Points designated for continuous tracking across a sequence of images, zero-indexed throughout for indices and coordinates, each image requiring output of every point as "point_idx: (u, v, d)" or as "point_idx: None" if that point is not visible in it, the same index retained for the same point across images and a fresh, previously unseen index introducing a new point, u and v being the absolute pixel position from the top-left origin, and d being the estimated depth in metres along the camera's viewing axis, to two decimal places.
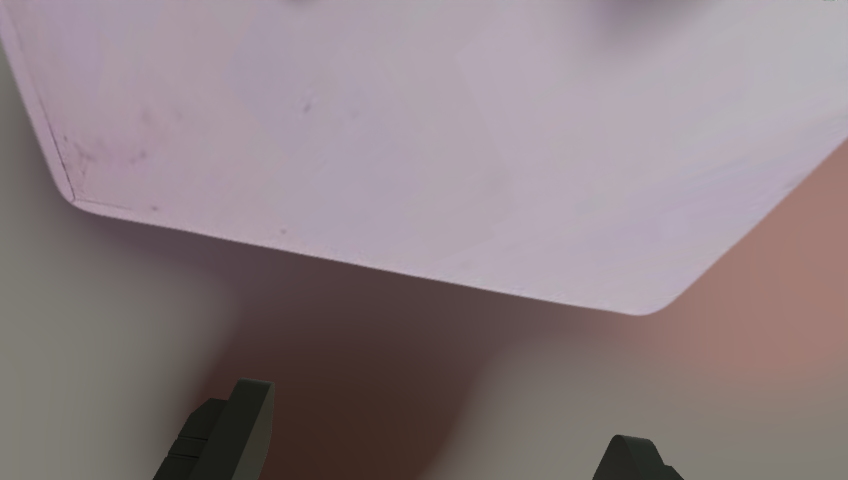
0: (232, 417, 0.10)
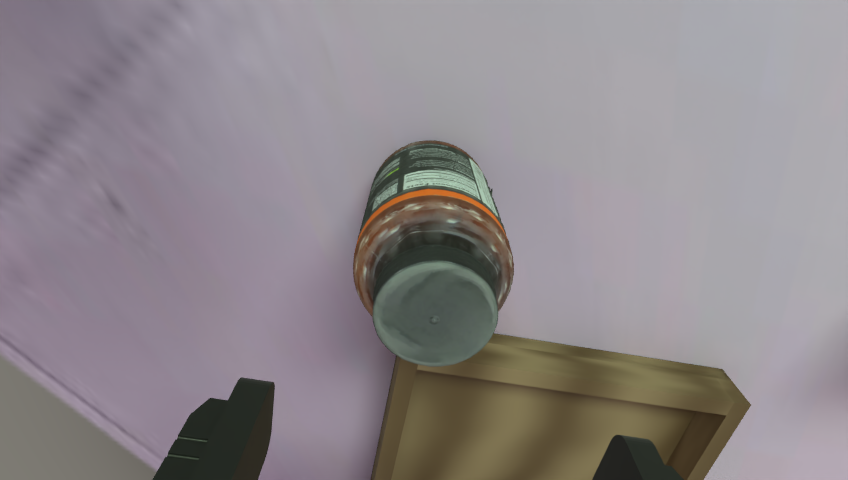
0: (232, 417, 0.10)
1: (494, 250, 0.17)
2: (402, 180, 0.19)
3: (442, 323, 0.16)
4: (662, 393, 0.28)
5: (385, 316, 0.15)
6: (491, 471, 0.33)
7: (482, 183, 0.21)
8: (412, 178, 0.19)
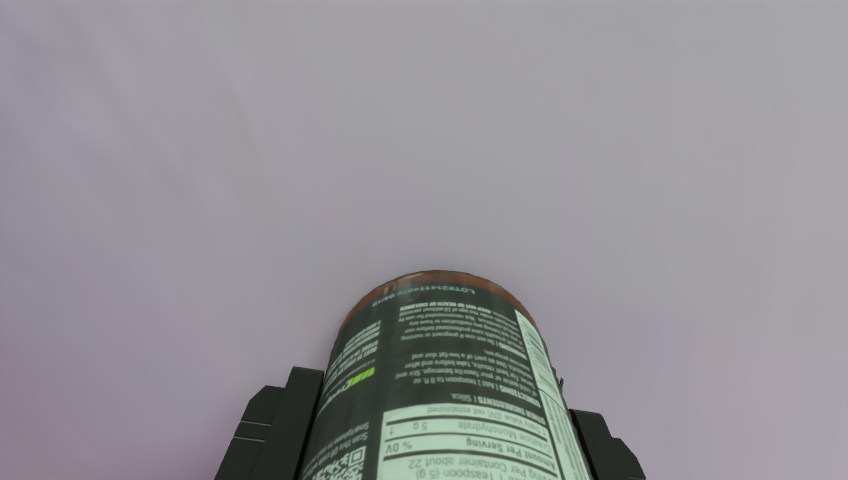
0: (291, 402, 0.10)
1: None
2: (378, 440, 0.08)
3: None
4: None
5: None
6: None
7: (554, 400, 0.10)
8: (402, 447, 0.08)
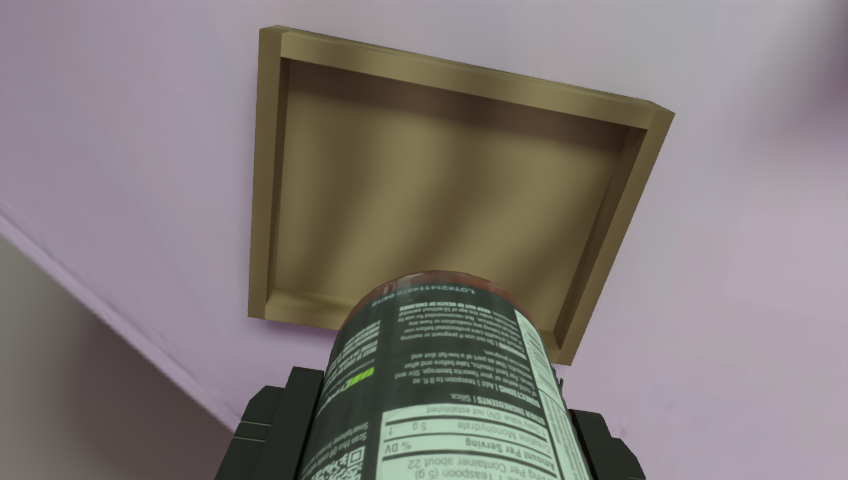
0: (291, 402, 0.10)
1: None
2: (377, 440, 0.08)
3: None
4: (571, 95, 0.24)
5: None
6: (394, 240, 0.29)
7: (553, 400, 0.10)
8: (400, 447, 0.08)
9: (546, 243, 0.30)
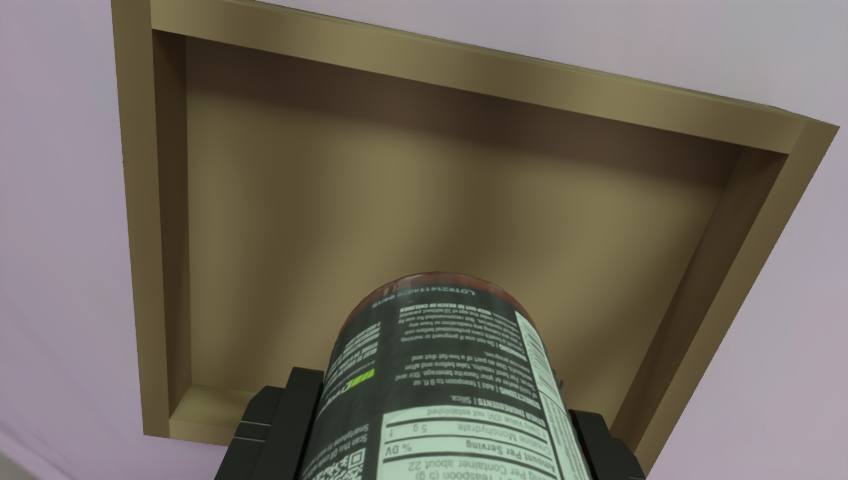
0: (291, 402, 0.10)
1: None
2: (378, 442, 0.08)
3: None
4: (662, 96, 0.14)
5: None
6: None
7: (554, 402, 0.10)
8: (401, 448, 0.08)
9: (599, 323, 0.19)
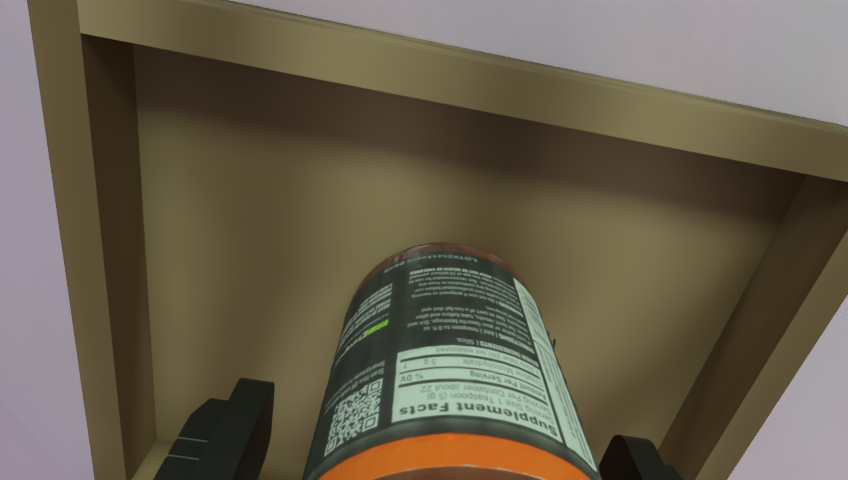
0: (232, 417, 0.10)
1: None
2: (393, 373, 0.09)
3: None
4: (719, 117, 0.11)
5: None
6: None
7: (546, 351, 0.11)
8: (414, 377, 0.09)
9: (627, 374, 0.17)
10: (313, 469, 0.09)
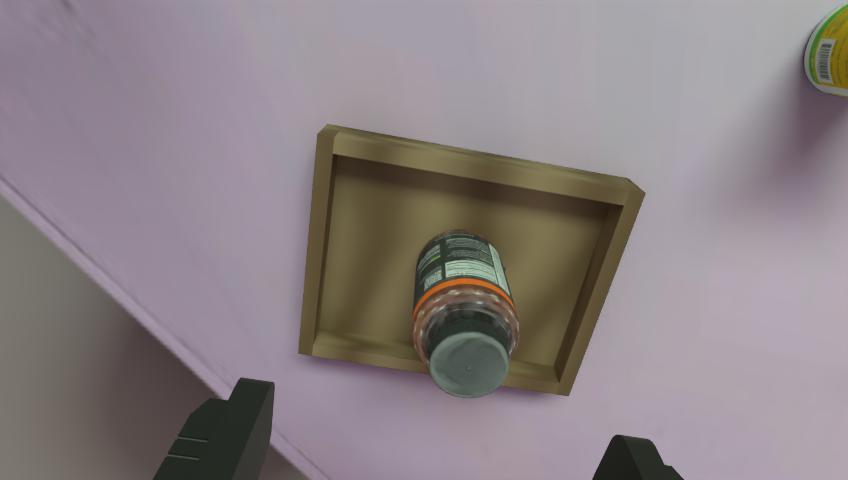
0: (232, 417, 0.10)
1: (507, 321, 0.26)
2: (444, 267, 0.28)
3: (473, 370, 0.24)
4: (561, 180, 0.30)
5: (437, 365, 0.24)
6: None
7: (498, 266, 0.30)
8: (452, 267, 0.28)
9: (545, 292, 0.35)
10: (421, 294, 0.27)
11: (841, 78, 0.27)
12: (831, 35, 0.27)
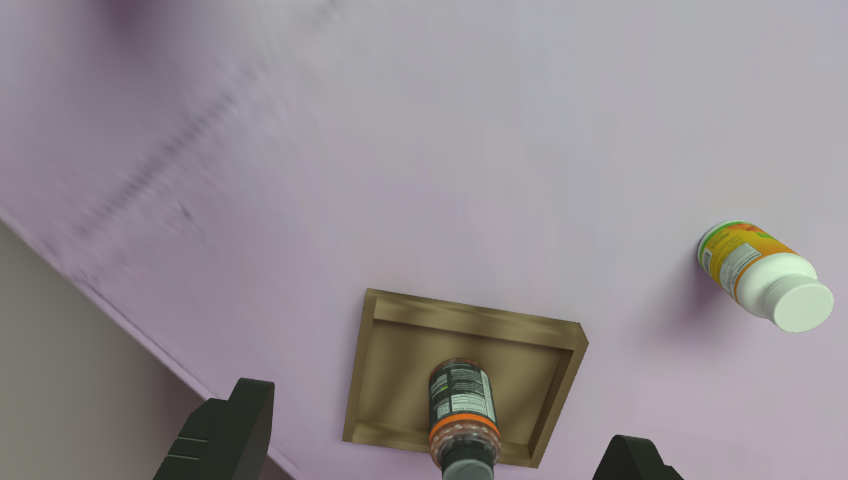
0: (232, 417, 0.10)
1: (492, 444, 0.39)
2: (451, 400, 0.42)
3: None
4: (531, 334, 0.43)
5: (447, 478, 0.38)
6: None
7: (487, 394, 0.44)
8: (456, 402, 0.41)
9: (521, 397, 0.49)
10: (435, 421, 0.41)
11: (715, 279, 0.41)
12: (710, 248, 0.41)
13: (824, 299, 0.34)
